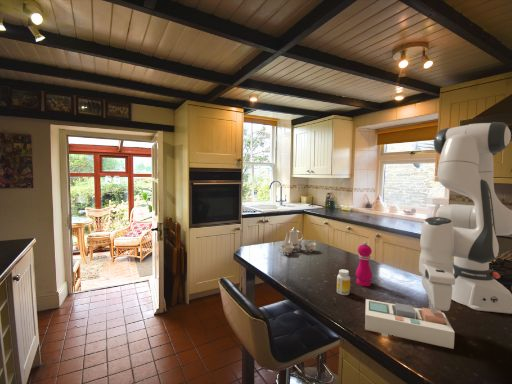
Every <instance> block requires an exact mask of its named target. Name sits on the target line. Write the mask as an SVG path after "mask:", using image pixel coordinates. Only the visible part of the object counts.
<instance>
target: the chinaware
mask: <svg viewBox="0 0 512 384" xmlns="http://www.w3.org/2000/svg"><path fill="white" fill-rule="evenodd" d="M288 231H289V233H288ZM288 231H285V234H286V235H285V237H284V244H283V245H281V246H280V247H279V249H278V252H279V253H282V254H283V255H285V254H290V255H291V254H292V253H298V252H297V251H299V252H301V251H300V250H301V249H302V248H303V246H302V244H303V245H304V248H305V249H306V251H309V252H308V253H312V252H313V251H314V250H315V249H316V248H317V246H318V244H317V243H316V242H310V241H308V242H303V241H302V240H303V239H304V236H305V235H304V233H303V231H300V230H297V229H296V227H295V226H293V227H292V228H291V229H289V230H288ZM300 233H301V234H302V236H301V238H300V239H299V234H300ZM301 243H302V244H301ZM280 249H281V250H282V251H280ZM292 251H293V252H292Z"/></svg>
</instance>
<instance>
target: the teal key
mask: <svg viewBox="0 0 512 384" xmlns="http://www.w3.org/2000/svg"><path fill="white" fill-rule="evenodd" d="M370 311H374V312H380V313H385V314H387V308H386V305H381V304H376V303H370Z"/></svg>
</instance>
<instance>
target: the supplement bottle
mask: <svg viewBox="0 0 512 384" xmlns="http://www.w3.org/2000/svg"><path fill="white" fill-rule="evenodd" d="M350 291H351V276H350V271H349V270H348V269H339V271H338V274H337V277H336V293H337V294H339V295H342V296H349V294H350Z"/></svg>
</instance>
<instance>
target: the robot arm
mask: <svg viewBox="0 0 512 384" xmlns="http://www.w3.org/2000/svg"><path fill="white" fill-rule="evenodd" d="M511 137H512V133H511V130H510V128H509V126H508V124H506V123H505V122H501V121H492V122H482V123H481V122H479V123H469V124H465V125H460V126H454V127H447V128H443V129H440V130H439V131H438V132H437V133H436V134H434V139H433V147H434V150H435V152H436V153H438V155H439V160H438V165H437V173H436V174H437V180H438V182H439V183H440V184H441V186H443V187H444V188H445V189H447V190H449V191H451V192H454V193H456V194H458V195H462V196H464V197H467V198H469V199H470V200H472V202H473V205H471V204H458V203H457V204H456V203H450V204H442V205H441V206H439V207H438V208H437V210H436V211H435V216H431V217H427V218H425V219H424V221H423V223H422V227H421V232H420V240H419V241H420V242H419V244H420V245H419V246H420V248H421V249H420V254H419V257H418V258H419V261H418V272H419V273H420V274H421V285H422V287H423V289H424V291H425V293H426V294H427V298H428V309H430V311H431V312H432V313H437V312H438V310H440V311H443V312H447V311H448V312H449V310H450V308H451V303H452V301H455V302H456V303H459V304H460V305H461V304H462V305H464V306H467V307H468V308H470V309H473V310H474V311H475V310H476V311H479V312H480V311H483V312H492V313H493V312H494V313H503V314H510V315H511V314H512V293H511V291H510V290H509V289H507V287H506V286H504V285H503V284H502V283H500V282H499V281H497V279H500V278H501V275H500V274H499V273H498V272H497V271H494V270H493V269H491V268H490V262H492V261H494V260H496V259H497V258H498V255H499V252H500V250H499V249H500V247H499V246H500V245H499V241H498V237H497V236H510V235H512V210H511V209H510V208H508V207H507V206H506V205H504V204H503V203H502V201H500V199H499V198H498V196H497V194H496V192H495V191H496V190H495V185H494V184H495V183H494V173H495V172H494V169H495V168H494V167H495V166H494V156H497V154H498V153H501V152H502V151H504V150H505V149H506V148H508V145H509V143H510V141H511V139H512V138H511Z"/></svg>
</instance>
